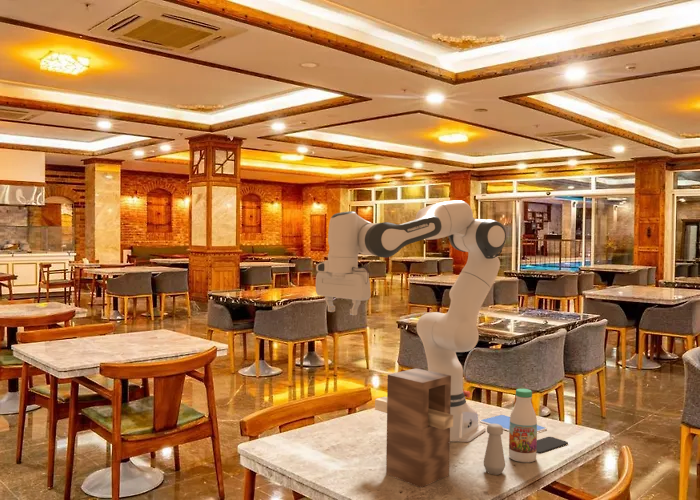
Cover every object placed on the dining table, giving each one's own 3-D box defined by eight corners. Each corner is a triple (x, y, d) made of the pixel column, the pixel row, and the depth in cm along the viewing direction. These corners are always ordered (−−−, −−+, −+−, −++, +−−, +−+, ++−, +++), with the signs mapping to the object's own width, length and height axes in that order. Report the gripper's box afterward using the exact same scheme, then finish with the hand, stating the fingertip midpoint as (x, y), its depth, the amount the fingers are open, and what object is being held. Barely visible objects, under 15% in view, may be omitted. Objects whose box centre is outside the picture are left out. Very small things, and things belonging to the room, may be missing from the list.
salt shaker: (505, 477, 165) (506, 429, 165) (483, 475, 167) (484, 427, 166) (504, 468, 171) (505, 422, 171) (483, 467, 172) (484, 420, 172)
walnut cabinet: (414, 462, 175) (416, 368, 174) (449, 475, 166) (450, 375, 165) (386, 474, 166) (387, 374, 165) (421, 487, 158) (422, 382, 157)
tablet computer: (478, 423, 214) (478, 419, 214) (502, 417, 221) (502, 413, 221) (524, 438, 198) (524, 434, 198) (548, 431, 206) (548, 427, 206)
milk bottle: (505, 453, 183) (506, 386, 182) (530, 453, 184) (531, 386, 183) (514, 463, 175) (515, 393, 175) (540, 463, 176) (542, 393, 175)
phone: (519, 445, 189) (549, 436, 198) (519, 448, 189) (549, 438, 198) (539, 452, 183) (569, 442, 192) (539, 455, 183) (569, 445, 192)
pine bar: (384, 406, 177) (384, 396, 177) (453, 426, 160) (453, 414, 160) (374, 409, 174) (375, 399, 174) (443, 429, 157) (443, 418, 157)
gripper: (375, 267, 177) (375, 316, 177) (327, 264, 191) (327, 309, 192) (360, 268, 172) (359, 318, 172) (312, 265, 187) (311, 310, 187)
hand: (342, 313), depth 182 cm, fingers open, 8 cm apart
